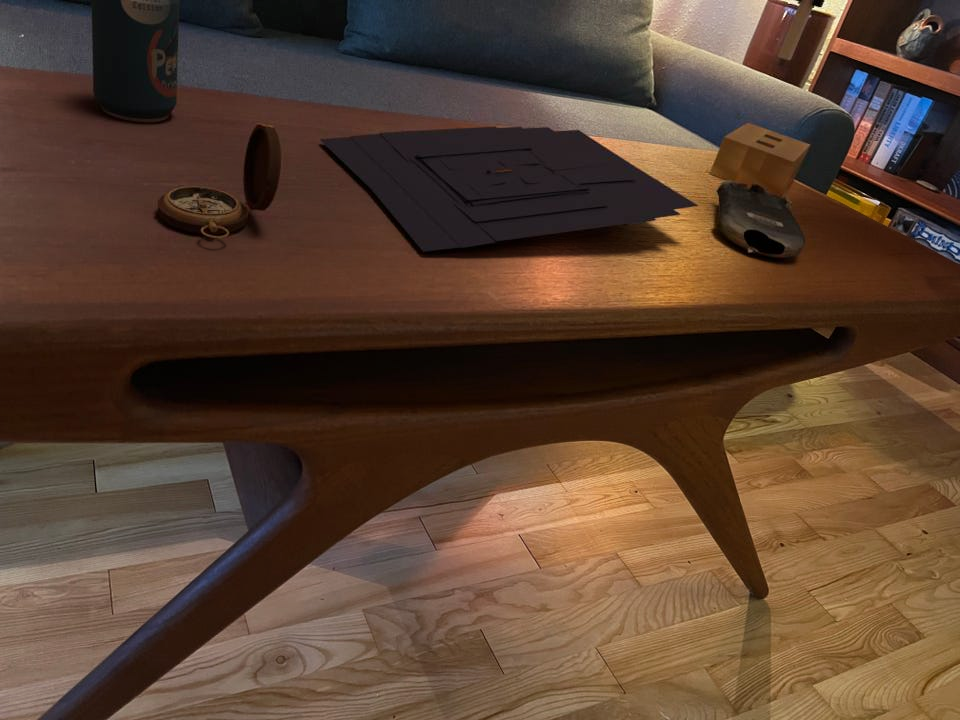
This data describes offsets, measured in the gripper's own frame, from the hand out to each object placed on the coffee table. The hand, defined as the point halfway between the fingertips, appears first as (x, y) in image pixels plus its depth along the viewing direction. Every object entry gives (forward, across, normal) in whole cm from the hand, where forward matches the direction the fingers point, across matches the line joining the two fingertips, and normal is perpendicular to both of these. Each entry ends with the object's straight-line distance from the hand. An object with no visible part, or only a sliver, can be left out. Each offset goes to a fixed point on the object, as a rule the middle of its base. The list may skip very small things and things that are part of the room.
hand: (807, 3), depth 82 cm
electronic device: (+22, +5, -9) cm, 25 cm away
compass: (+22, -27, -55) cm, 65 cm away
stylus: (+6, 0, 0) cm, 6 cm away
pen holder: (+22, 0, +17) cm, 28 cm away
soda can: (+22, -48, -44) cm, 68 cm away
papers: (+22, -16, -27) cm, 39 cm away
